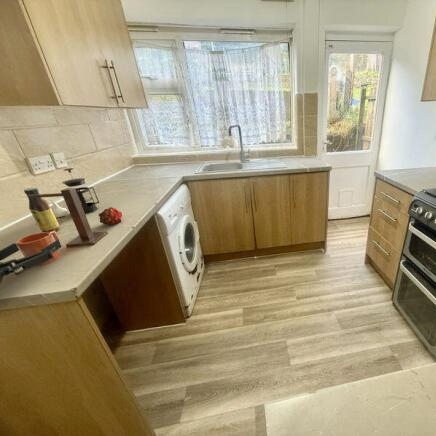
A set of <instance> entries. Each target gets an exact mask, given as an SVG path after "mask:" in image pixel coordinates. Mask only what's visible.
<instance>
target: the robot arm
mask: <svg viewBox="0 0 436 436" xmlns="http://www.w3.org/2000/svg"><path fill="white" fill-rule="evenodd" d="M59 241H60V239H59V240H56V241H55V240H54V241H53V243H52V244H50V245H48V246H47V247H45V248H44V249H42V250H41V252H38V253H35V254H32V255H29V256H26V257H24V256H23V257H21V258H18V259H16V258H13V259H10V260H7V261H3V260H5V259H6V258H8V257H10V256H12V255H14V254H15V253H17V252H18V251H20V248H19V246H18V244H17V242H15V243H11V244H10V245H8V246H6V247H4V248H2V249H0V285H1V284H2V282H3V279H4V277H6V276H9V275H10V274H14V275H15V276H19V275H21V274H23V273H24V272H26V271H28V270H30V269H32V268H35V267H38V266H37V265H39V264H41V263H44V262H46V261H48V260H50V259H53V258H54V256H53V254H52V253H54V252H55V251H57V250H58V251H59V250H60V249H61V248H62V244H61V241H60V242H59ZM2 261H3V262H2ZM12 263H13V264H14V265H13V264H12Z"/></svg>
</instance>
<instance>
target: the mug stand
mask: <svg viewBox="0 0 436 436" xmlns="http://www.w3.org/2000/svg"><path fill="white" fill-rule="evenodd" d="M75 188H76V187H67V188H63V189H61V190H60V192H58V193H41V194H40V193H39V194H36V195H28V196H27V195H26V197H27V199H28V198H58V197H59V198H60V197H62V198H63V200H64V203H65V205H66V207H67V209H68V210H67V211H68V213H69V215H70V216H71V218H72V221H73V224H74V227H75V228H76V230H77V234H78V235H77V236H76V237H75V238H73V239H71V240H69V241H68V242H67V243H66V244H65V247H66V248H67V249H68V248H79V247H88V246H95V245H96V244H97V243H98V242H100V241H101V240H102V239H103V238H105V237H106V236H107V235H108V234H109V232H108V230H105V231H92V227H91V225H90V222H89V221H88V218H87V214H85V213H84V210H83V207H82V205H81V202H80V200H79V197H78V195H77V192H76V190H75Z"/></svg>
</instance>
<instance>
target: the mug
mask: <svg viewBox="0 0 436 436" xmlns="http://www.w3.org/2000/svg"><path fill="white" fill-rule="evenodd" d="M56 232H57V231H51V232H50V233H48V232H42V231H41V232H35V233H32V234H28V235H25V236H22V237H21V238H19V239H17V240H16V242H15V243H16V245H17V247H18V248H19V251H20V252H21V253H22V255H23V257H26V256H29V255H32V254H35V253H38V252H41V250H42V249H44V248H45V247H47V246H48V245H50V244H52V243H53V242H55V241H56V240H59V242H60V243H61V241H60V238H59V237H58V234H57V233H56ZM52 237H53V238H54V239H53V238H52ZM52 254H53V256H54V258H53V259H50V260H48V261H46V262H44V263H41V264H39V265H37V266H36V267H40V266H43V265H47V264H50V263H53V262H54V261H56V260H57V259H59V258H60V256H61V255H60V252H59V249H58V250H57V251H55V252H54V253H52Z"/></svg>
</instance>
